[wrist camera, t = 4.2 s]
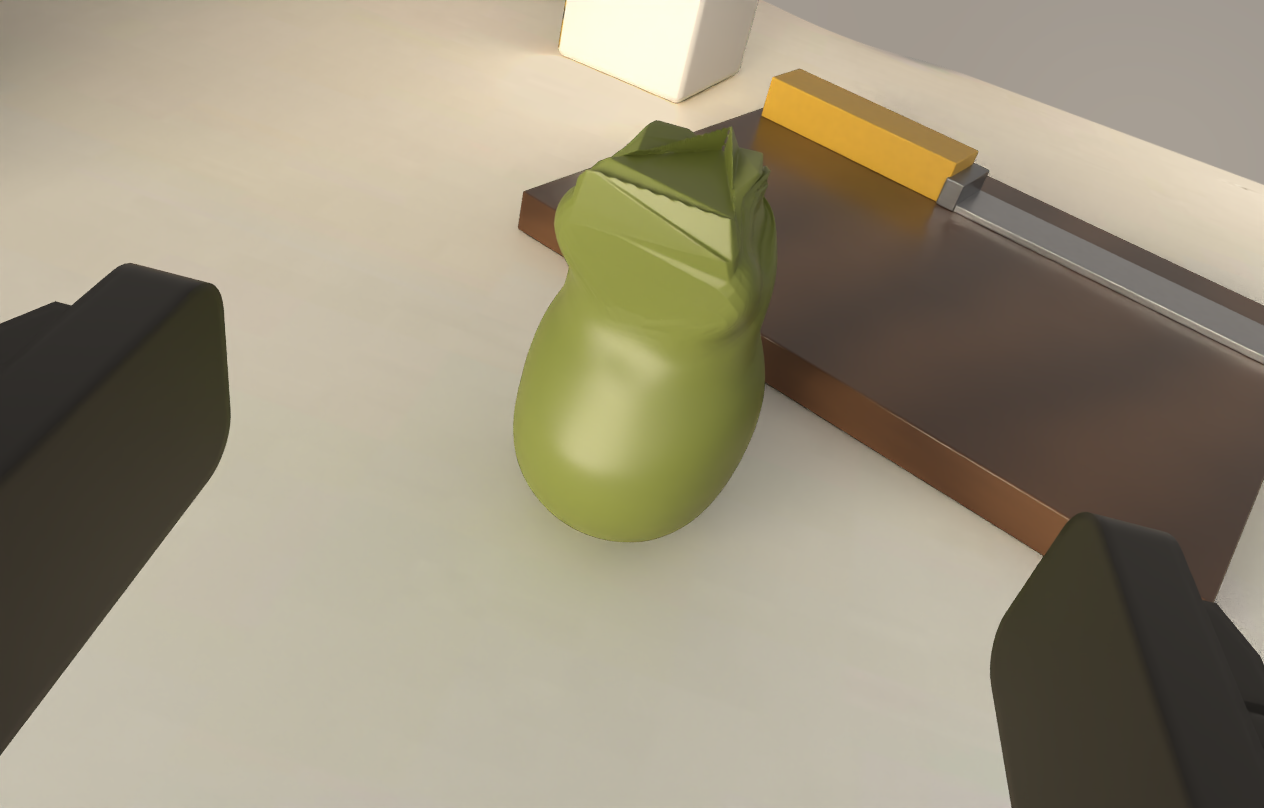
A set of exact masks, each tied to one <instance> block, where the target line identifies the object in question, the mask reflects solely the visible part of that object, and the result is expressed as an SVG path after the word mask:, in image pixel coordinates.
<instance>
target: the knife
mask: <svg viewBox="0 0 1264 808" xmlns="http://www.w3.org/2000/svg"><path fill="white" fill-rule="evenodd" d="M762 116H763V117H765V118H767V119H769V120H771V121H774V122H776V123H778V124H780V125H782V126H784V127H786V128H788V129H790V130H792V131H794V132H796V133H798V134H800V135H802V136H804V137H806V138H808V139H810V140H812V141H814V142H816V143H818V144H820V145H822V146H824V147H826V148H828V149H830V150H832V151H834V152H836V153H838V154H840V155H843V156H845V157H847V158H849V159H851V160H853V161H855V162H857V163H859V164H861V165H863V166H865V167H867V168H869V169H871V170H873V171H875V172H877V173H879V174H881V175H883V176H885V177H887V178H889V179H891V180H893V181H895V182H897V183H899V184H901V185H903V186H905V187H907V188H910V189H912V190H914V191H916V192H918V193H920V194H922V195H924V196H926V197H928V198H930V199H932V200H934V201H936V204H938V205H940V206H942V207H944V208H946V209H948V210H950V211H954V212H956V213H958V214H960V215H962V216H964V217H966V218H968V219H970V220H972V221H974V222H976V223H978V224H980V225H982V226H984V227H986V228H988V229H990V230H992V231H994V232H996V233H998V234H1000V235H1002V236H1004V237H1006V238H1008V239H1010V240H1012V241H1014V242H1016V243H1018V244H1020V245H1022V246H1024V247H1027V248H1029V249H1031V250H1033V251H1035V252H1037V253H1039V254H1041V255H1043V256H1045V257H1047V258H1049V259H1051V260H1053V261H1055V262H1057V263H1059V264H1061V265H1063V266H1065V267H1067V268H1069V269H1071V270H1073V271H1075V272H1077V273H1079V274H1081V275H1083V276H1085V277H1087V278H1089V279H1091V280H1093V281H1095V282H1097V283H1100V284H1102V285H1104V286H1106V287H1108V288H1110V289H1112V290H1114V291H1116V292H1118V293H1120V294H1122V295H1124V296H1126V297H1128V298H1130V299H1132V300H1134V301H1136V302H1138V303H1140V304H1142V305H1144V306H1146V307H1148V308H1150V309H1152V310H1154V311H1156V312H1158V313H1160V314H1162V315H1164V316H1166V317H1168V318H1170V319H1172V320H1175V321H1177V322H1179V323H1181V324H1183V325H1185V326H1187V327H1189V328H1191V329H1193V330H1195V331H1197V332H1199V333H1201V334H1203V335H1205V336H1207V337H1209V338H1211V339H1213V340H1215V341H1217V342H1219V343H1221V344H1223V345H1225V346H1227V347H1229V348H1231V349H1233V350H1235V351H1237V352H1239V353H1241V354H1243V355H1245V356H1248V357H1250V358H1252V359H1254V360H1256V361H1258V362H1260V363H1262V364H1264V326H1263V325H1261V324H1259V323H1257V322H1255V321H1253V320H1251V319H1249V318H1247V317H1245V316H1243V315H1240V314H1238V313H1236V312H1234V311H1232V310H1230V309H1228V308H1226V307H1224V306H1222V305H1220V304H1217V303H1215V302H1213V301H1211V300H1209V299H1207V298H1205V297H1203V296H1201V295H1199V294H1197V293H1194V292H1192V291H1190V290H1188V289H1186V288H1184V287H1182V286H1180V285H1178V284H1176V283H1173V282H1171V281H1169V280H1167V279H1165V278H1163V277H1161V276H1159V275H1157V274H1155V273H1153V272H1150V271H1148V270H1146V269H1144V268H1142V267H1140V266H1138V265H1136V264H1134V263H1132V262H1130V261H1127V260H1125V259H1123V258H1121V257H1119V256H1117V255H1115V254H1113V253H1111V252H1109V251H1107V250H1104V249H1102V248H1100V247H1098V246H1096V245H1094V244H1092V243H1090V242H1088V241H1086V240H1084V239H1081V238H1079V237H1077V236H1075V235H1073V234H1071V233H1069V232H1067V231H1065V230H1063V229H1061V228H1058V227H1056V226H1054V225H1052V224H1050V223H1048V222H1046V221H1044V220H1042V219H1040V218H1037V217H1035V216H1033V215H1031V214H1029V213H1027V212H1025V211H1023V210H1021V209H1019V208H1017V207H1014V206H1012V205H1010V204H1008V203H1006V202H1004V201H1002V200H1000V199H998V198H996V197H994V196H991V195H989V194H987V193H985V192H983V191H981V188H982V186H983V184H984V181H985V179H986V177H987V175H988V173H989V170H988V169H986V168H984V167H982V166H979V165H977V164H975V163H974V161H975V158H976V156H977V154H978V150H975V149H973V148H971V147H969V146H967V145H965V144H962V143H960V142H958V141H956V140H954V139H952V138H949V137H947V136H945V135H943V134H941V133H939V132H936V131H934V130H932V129H930V128H928V127H926V126H923V125H921V124H919V123H917V122H915V121H913V120H910V119H908V118H906V117H904V116H902V115H900V114H897V113H895V112H893V111H891V110H889V109H886V108H884V107H882V106H880V105H878V104H876V103H873V102H871V101H869V100H867V99H865V98H863V97H860V96H858V95H856V94H854V93H852V92H850V91H847V90H845V89H843V88H841V87H839V86H837V85H834V84H832V83H830V82H828V81H826V80H824V79H821V78H819V77H817V76H815V75H813V74H811V73H808V72H806V71H804V70H802V69H797V70H794V71H791V72H788V73H784V74H781V75H778V76H775V77H773V78H772V81H771V84H770V88H769V91H768V95H767V98H766V101H765V105H764V108H763V111H762Z"/></svg>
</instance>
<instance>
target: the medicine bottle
mask: <svg viewBox="0 0 1264 808" xmlns="http://www.w3.org/2000/svg"><path fill="white" fill-rule="evenodd" d="M758 2H759V0H566V1H565V8H564V14H563V21H562V27H561V33H560V40H559V46H558V47H559V52H560V53H561V54H562V55H563V56H566V57H568V58H570V59H573V60H575V61H577V62H580V63H582V64H585V65H587V66H589V67H592V68H594V69H596V70H599V71H601V72H603V73H606V74H608V75H610V76H613V77H615V78H617V79H620V80H622V81H625V82H627V83H629V84H632V85H634V86H636V87H639V88H641V89H643V90H646V91H648V92H650V93H653V94H655V95H657V96H660V97H662V98H665V99H667V100H669V101H672V102H674V103H679V102H681V101H683V100H685V99H687V98H689V97H691V96H693V95H695V94H697V93H699V92H701V91H703V90H705V89H707V88H709V87H710V86H712V85H714V84H716V83H718V82H720V81H722V80H724V79H726V78H728V77H730V76H732V75H734V74H736V73H738V71H739V69H740V67H741V63H742V60H743V56H744V53H745V49H746V45H747V42H748V38H749V34H750V31H751V27H752V23H753V20H754V16H755V13H756V9H757V5H758Z"/></svg>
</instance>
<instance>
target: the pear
mask: <svg viewBox="0 0 1264 808" xmlns="http://www.w3.org/2000/svg"><path fill="white" fill-rule="evenodd" d="M728 130H730V132H729V135H728V134H727V132H728ZM703 135H704V136H703ZM703 135H702V136H701V135H700V134H699V135H696V134H695V133H693V132H692V131H690V130H689V129H687V128H683V127H680V126H676V125H673V124H669V123H665V122H662V121H657V120H656V121H654V122H652V123H650V124H649V125H647V126H646V127H645V128H644V129H643V130H642V131H641V132H640V133H639V134H638V135H637V136H636V137H635V138H634V139H633V140H632V141H631V142H630V143H629V144H627V146H625V147H624V148H623V149H621V150H620V151H618V152H617V153H616V154H614V155H613V156H612V157H609V158H606V159H603V160H601V161H599V162H597V163H596V164H595V165H594V166H593V167H592V168H591V169H590V170H585V172H583V173H582V174H580V175H579V177H578V178H577V182H576V185H575V186H574V187H572V188H571V189H570V190H569V191H567V193H566V194H565V195H564V196H563V197H562V199H561V200H560V202H559V204H558V207H557V209H556V213H555V221H554V227H555V234H556V238H557V242H558V244H559V247H560V250H561V252H562V254H563V256H564V258H565V260H566V262H567V264H568V266H569V269H568V274H567V278H566V281H565V284H564V286H563V288H562V289H561V290H560V291H559V293H558V294H557V295H556V297H555V298H554V300H553V301H552V303H551V304H550V306H549V307H548V309H547V311H546V313H545V314H544V316H543V318H542V320H541V322H540V324H539V326H538V328H537V331H536V333H535V336H534V338H533V341H532V343H531V346H530V349H529V352H528V355H527V358H526V362H525V365H524V369H523V373H522V377H521V381H520V385H519V389H518V393H517V398H516V404H515V411H514V422H513V435H514V446H515V452H516V456H517V460H518V463H519V466H520V469H521V471H522V474H523V476H524V478H525V480H526V482H527V483H528V485H529V487H530V488H531V490H532V491H533V493H534V494H535V496H536V497H537V498H538V499H539V501H540V502H541V503H542V504H543V505H544V506H545V507H546V508H547V509H548V510H549V511H550V512H551V513H552V514H553V515H555V516H556V517H557V518H558V519H560V520H561V521H562V522H564V523H565V524H567V525H569V526H570V527H572V528H574V529H576V530H578V531H580V532H582V533H585V534H587V535H590V536H593V537H596V538H600V539H604V540H609V541H616V542H642V541H648V540H653V539H656V538H660V537H663V536H665V535H668V534H670V533H673V532H675V531H677V530H679V529H680V528H682V527H684V526H685V525H687V524H688V523H690V522H691V521H693V520H694V519H695V518H696V517H698V516H699V515H700V514H701V513H702V512H703V511H704V510H705V509H706V508H707V507H708V506H709V505H710V504H711V503H712V502H713V501H714V499H715V498H716V497H717V496H718V495H719V493H720V492H721V491H722V489H723V488H724V486H725V485H726V484H727V482H728V481H729V479H730V478H731V476H732V474H733V473H734V471H735V469H736V468H737V466H738V464H739V462H740V461H741V459H742V457H743V455H744V453H745V451H746V449H747V447H748V444H749V442H750V440H751V438H752V435H753V432H754V430H755V427H756V424H757V421H758V418H759V414H760V411H761V407H762V402H763V396H764V388H765V363H764V353H763V346H762V340H761V334H760V329H761V326H762V323H763V321H764V318H765V315H766V312H767V309H768V307H769V303H770V300H771V297H772V293H773V289H774V284H775V279H776V272H777V233H776V223H775V217H774V214H773V211H772V208H771V206H770V204H769V202H768V201H767V199H766V198H765V197H764V194H765V192H766V189H767V187H768V182H767V179H768V177H769V174H770V172H771V170H770V169H769V168H768V167H767V166H763V153H760V152H757V151H753V150H749V149H744V148H740V147H739V146H738V143H737V140H736V137H735V133H734V130H733V127H732V126H731V127H730V126H729V128H727V129H726V128H725V127H724V129H723V127H722V131H721V129H720V130H717V129H716V131H715V132H714V131H713V132H712V131H711V134H710V133H709V134H708V133H707V132H706V134H705V133H704V134H703ZM727 136H728V140H727V142H726V143H724V142H725V139H726V138H727ZM723 145H724V146H725V148H724V150H725V151H723V150H722V147H723Z"/></svg>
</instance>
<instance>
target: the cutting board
mask: <svg viewBox="0 0 1264 808" xmlns="http://www.w3.org/2000/svg"><path fill="white" fill-rule="evenodd" d="M762 111H763V108H761V109H759V110H756V111H753V112H750V113H747V114H744V115H741V116H738V117H736V118H733V119H730V120H727V121H724V122H721V123H718V124H716V125H713V126H710V127H707V128H704V129H701V130H698V131H695V132H693V133H695V134H696V135H699V134H700V135H701V136H702V135H703V134H704V133H705V134H706V132H707V133H708V134H709V133H710V134H711V131H712V132H713V131H714V132H715V131H716V129H717V130H720V129H721V131H722V127H723V129H724V127H725V128H726V129H727V128H729V126H730V127H731V126H732V127H733V130H734V133H735V137H736V140H737V143H738V146H739V147H740V148H744V149H749V150H753V151H757V152H760V153H763V166H767V167H768V168H769V169H770V170H771V172H770V174H769V177H768V179H767V182H768V187H767V189H766V192H765V194H764V197H765V198H766V199H767V201H768V202H769V204H770V206H771V208H772V211H773V214H774V217H775V223H776V233H777V272H776V279H775V284H774V289H773V293H772V297H771V300H770V303H769V307H768V309H767V312H766V315H765V318H764V321H763V323H762V326H761V329H760V334H761V340H762V346H763V353H764V363H765V382H766V383H767V384H769V385H770V386H772V387H774V388H775V389H777V390H778V391H780V392H782V393H783V394H785V395H786V396H788V397H790V398H791V399H793V400H794V401H796V402H798V403H799V404H801V405H802V406H804V407H806V408H807V409H809V410H811V411H812V412H814V413H815V414H817V415H819V416H820V417H822V418H823V419H825V420H827V421H828V422H830V423H831V424H833V425H835V426H836V427H838V428H839V429H841V430H843V431H844V432H846V433H847V434H849V435H851V436H852V437H854V438H855V439H857V440H859V441H860V442H862V443H864V444H865V445H867V446H868V447H870V448H872V449H873V450H875V451H876V452H878V453H880V454H881V455H883V456H884V457H886V458H888V459H889V460H891V461H892V462H894V463H896V464H897V465H899V466H900V467H902V468H904V469H905V470H907V471H909V472H910V473H912V474H913V475H915V476H917V477H918V478H920V479H921V480H923V481H925V482H926V483H928V484H929V485H931V486H933V487H934V488H936V489H937V490H939V491H941V492H942V493H944V494H945V495H947V496H949V497H950V498H952V499H953V500H955V501H957V502H958V503H960V504H962V505H963V506H965V507H966V508H968V509H970V510H971V511H973V512H974V513H976V514H978V515H979V516H981V517H982V518H984V519H986V520H987V521H989V522H990V523H992V524H994V525H995V526H997V527H998V528H1000V529H1002V530H1003V531H1005V532H1007V533H1008V534H1010V535H1011V536H1013V537H1015V538H1016V539H1018V540H1019V541H1021V542H1023V543H1024V544H1026V545H1027V546H1029V547H1031V548H1032V549H1034V550H1035V551H1037V552H1039V553H1040V554H1042V555H1043V556H1044V555H1045V554H1046V552H1047V551H1048V549H1049V548H1050V546H1051V545H1052V543H1053V542H1054V540H1055V539H1056V537H1057V536H1058V534H1059V533H1060V531H1061V530H1062V528H1063V527H1064V526H1065V524H1066V523H1067V522H1068V521H1069V520H1070V519H1071V518H1072V517H1073V516H1075V515H1076V514H1078V513H1081V512H1090V513H1094V514H1098V515H1102V516H1106V517H1109V518H1113V519H1117V520H1121V521H1125V522H1129V523H1133V524H1137V525H1141V526H1144V527H1148V528H1152V529H1156V530H1160V531H1164V532H1167V533H1169V534H1171V535H1172V536H1173V537H1174V538H1175V539H1176V540H1177V541H1178V543H1179V545H1180V547H1181V549H1182V552H1183V554H1184V556H1185V559H1186V561H1187V564H1188V566H1189V569H1190V571H1191V574H1192V576H1193V578H1194V581H1195V583H1196V586H1197V588H1198V591H1199V593H1200V596H1201V598H1202V600H1205V601H1209V602H1213V603H1214V601H1215V599H1216V596H1217V594H1218V591H1219V589H1220V586H1221V584H1222V581H1223V579H1224V576H1225V574H1226V571H1227V569H1228V566H1229V564H1230V561H1231V559H1232V557H1233V554H1234V552H1235V549H1236V547H1237V544H1238V542H1239V539H1240V537H1241V534H1242V532H1243V529H1244V527H1245V524H1246V522H1247V519H1248V517H1249V514H1250V512H1251V509H1252V507H1253V505H1254V502H1255V500H1256V497H1257V495H1258V492H1259V490H1260V487H1261V485H1262V482H1263V480H1264V364H1262V363H1260V362H1258V361H1256V360H1254V359H1252V358H1250V357H1248V356H1245V355H1243V354H1241V353H1239V352H1237V351H1235V350H1233V349H1231V348H1229V347H1227V346H1225V345H1223V344H1221V343H1219V342H1217V341H1215V340H1213V339H1211V338H1209V337H1207V336H1205V335H1203V334H1201V333H1199V332H1197V331H1195V330H1193V329H1191V328H1189V327H1187V326H1185V325H1183V324H1181V323H1179V322H1177V321H1175V320H1172V319H1170V318H1168V317H1166V316H1164V315H1162V314H1160V313H1158V312H1156V311H1154V310H1152V309H1150V308H1148V307H1146V306H1144V305H1142V304H1140V303H1138V302H1136V301H1134V300H1132V299H1130V298H1128V297H1126V296H1124V295H1122V294H1120V293H1118V292H1116V291H1114V290H1112V289H1110V288H1108V287H1106V286H1104V285H1102V284H1100V283H1097V282H1095V281H1093V280H1091V279H1089V278H1087V277H1085V276H1083V275H1081V274H1079V273H1077V272H1075V271H1073V270H1071V269H1069V268H1067V267H1065V266H1063V265H1061V264H1059V263H1057V262H1055V261H1053V260H1051V259H1049V258H1047V257H1045V256H1043V255H1041V254H1039V253H1037V252H1035V251H1033V250H1031V249H1029V248H1027V247H1024V246H1022V245H1020V244H1018V243H1016V242H1014V241H1012V240H1010V239H1008V238H1006V237H1004V236H1002V235H1000V234H998V233H996V232H994V231H992V230H990V229H988V228H986V227H984V226H982V225H980V224H978V223H976V222H974V221H972V220H970V219H968V218H966V217H964V216H962V215H960V214H958V213H956V212H954V211H950V210H948V209H946V208H944V207H942V206H940V205H938V204H936V201H934V200H932V199H930V198H928V197H926V196H924V195H922V194H920V193H918V192H916V191H914V190H912V189H910V188H907V187H905V186H903V185H901V184H899V183H897V182H895V181H893V180H891V179H889V178H887V177H885V176H883V175H881V174H879V173H877V172H875V171H873V170H871V169H869V168H867V167H865V166H863V165H861V164H859V163H857V162H855V161H853V160H851V159H849V158H847V157H845V156H843V155H840V154H838V153H836V152H834V151H832V150H830V149H828V148H826V147H824V146H822V145H820V144H818V143H816V142H814V141H812V140H810V139H808V138H806V137H804V136H802V135H800V134H798V133H796V132H794V131H792V130H790V129H788V128H786V127H784V126H782V125H780V124H778V123H776V122H774V121H771V120H769V119H767V118H765V117H763V116H762ZM729 132H730V130H728V132H727V134H728V135H729ZM703 136H704V135H703ZM727 140H728V136H727V138H726V139H725V142H724V143H726V142H727ZM724 148H725V146H724V145H723V147H722V150H723V151H725V150H724ZM590 169H591V168H589V169H586V170H590ZM583 172H585V170H583V171H581V172H578V173H575V174H572V175H569V176H566V177H563V178H560V179H558V180H555V181H552V182H549V183H546V184H543V185H540V186H537V187H535V188H532V189H529V190H526V191H524V192H523V197H522V204H521V211H520V218H519V224H518V228H519V229H520V230H521V231H523V232H525V233H526V234H528V235H529V236H531V237H533V238H534V239H536V240H537V241H539V242H541V243H542V244H544V245H545V246H547V247H549V248H550V249H552V250H553V251H555V252H557V253H558V254H560V255H561V256H563V254H562V252H561V250H560V247H559V244H558V242H557V238H556V234H555V227H554V221H555V213H556V209H557V207H558V204H559V202H560V200H561V199H562V197H563V196H564V195H565V194H566V193H567V191H569V190H570V189H571V188H572V187H574V186H575V185H576V182H577V178H578V177H579V175H580V174H582V173H583ZM981 191H983V192H985V193H987V194H989V195H991V196H994V197H996V198H998V199H1000V200H1002V201H1004V202H1006V203H1008V204H1010V205H1012V206H1014V207H1017V208H1019V209H1021V210H1023V211H1025V212H1027V213H1029V214H1031V215H1033V216H1035V217H1037V218H1040V219H1042V220H1044V221H1046V222H1048V223H1050V224H1052V225H1054V226H1056V227H1058V228H1061V229H1063V230H1065V231H1067V232H1069V233H1071V234H1073V235H1075V236H1077V237H1079V238H1081V239H1084V240H1086V241H1088V242H1090V243H1092V244H1094V245H1096V246H1098V247H1100V248H1102V249H1104V250H1107V251H1109V252H1111V253H1113V254H1115V255H1117V256H1119V257H1121V258H1123V259H1125V260H1127V261H1130V262H1132V263H1134V264H1136V265H1138V266H1140V267H1142V268H1144V269H1146V270H1148V271H1150V272H1153V273H1155V274H1157V275H1159V276H1161V277H1163V278H1165V279H1167V280H1169V281H1171V282H1173V283H1176V284H1178V285H1180V286H1182V287H1184V288H1186V289H1188V290H1190V291H1192V292H1194V293H1197V294H1199V295H1201V296H1203V297H1205V298H1207V299H1209V300H1211V301H1213V302H1215V303H1217V304H1220V305H1222V306H1224V307H1226V308H1228V309H1230V310H1232V311H1234V312H1236V313H1238V314H1240V315H1243V316H1245V317H1247V318H1249V319H1251V320H1253V321H1255V322H1257V323H1259V324H1261V325H1263V326H1264V306H1263V305H1261V304H1259V303H1257V302H1255V301H1253V300H1251V299H1248V298H1246V297H1244V296H1242V295H1240V294H1238V293H1236V292H1234V291H1231V290H1229V289H1227V288H1225V287H1223V286H1221V285H1219V284H1217V283H1214V282H1212V281H1210V280H1208V279H1206V278H1204V277H1202V276H1200V275H1197V274H1195V273H1193V272H1191V271H1189V270H1187V269H1185V268H1183V267H1180V266H1178V265H1176V264H1174V263H1172V262H1170V261H1168V260H1166V259H1163V258H1161V257H1159V256H1157V255H1155V254H1153V253H1151V252H1148V251H1146V250H1144V249H1142V248H1140V247H1138V246H1136V245H1134V244H1131V243H1129V242H1127V241H1125V240H1123V239H1121V238H1119V237H1117V236H1114V235H1112V234H1110V233H1108V232H1106V231H1104V230H1102V229H1100V228H1097V227H1095V226H1093V225H1091V224H1089V223H1087V222H1085V221H1083V220H1080V219H1078V218H1076V217H1074V216H1072V215H1070V214H1068V213H1066V212H1063V211H1061V210H1059V209H1057V208H1055V207H1053V206H1051V205H1048V204H1046V203H1044V202H1042V201H1040V200H1038V199H1036V198H1034V197H1031V196H1029V195H1027V194H1025V193H1023V192H1021V191H1019V190H1017V189H1014V188H1012V187H1010V186H1008V185H1006V184H1004V183H1002V182H1000V181H997V180H995V179H993V178H991V177H989V176H987V177H986V179H985V181H984V184H983V186H982V188H981ZM563 257H564V256H563Z"/></svg>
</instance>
